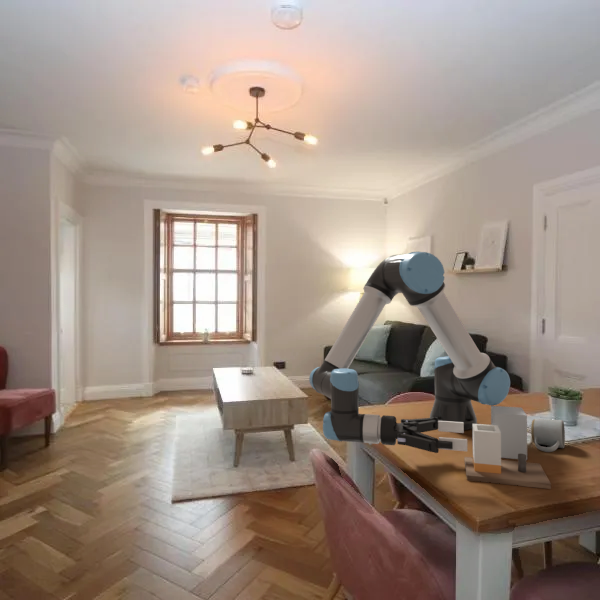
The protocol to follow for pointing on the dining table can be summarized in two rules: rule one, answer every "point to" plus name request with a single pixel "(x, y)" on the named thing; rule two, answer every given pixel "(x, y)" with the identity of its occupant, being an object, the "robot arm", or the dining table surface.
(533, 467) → the pin board
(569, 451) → the dining table surface
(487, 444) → the sleeve
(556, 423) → the ceramic mug
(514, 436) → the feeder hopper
